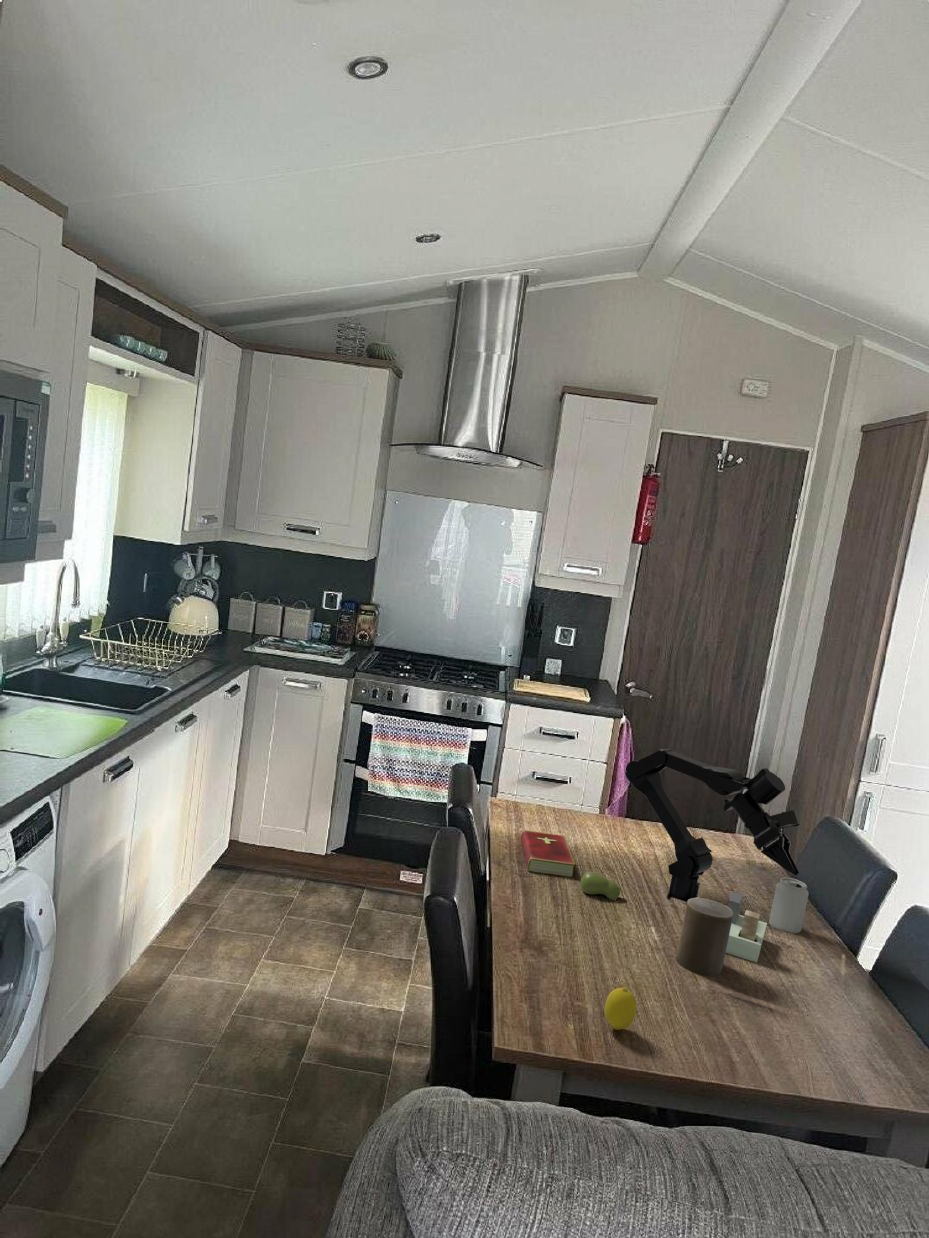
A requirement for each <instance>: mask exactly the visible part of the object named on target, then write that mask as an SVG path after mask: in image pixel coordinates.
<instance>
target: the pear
mask: <svg viewBox="0 0 929 1238" xmlns="http://www.w3.org/2000/svg"><path fill="white" fill-rule="evenodd" d="M579 884H580V888H581V890H582V891H583V892H584V893H585V894H587V895H604V896H605V897H606V898H607V899H609V900H611V901H616V900H617V898H618V897H620V896H621V895H620V894H621V890H622V888H621V886H618V884H617V883H616V882H615V881H612V880H610V879H608V878H607V877H605V876H604V875H602V874H599V873H597V872H594V871H587V872H584V874H583V875H582V876H581V879H580V883H579Z"/></svg>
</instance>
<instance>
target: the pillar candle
mask: <svg viewBox="0 0 929 1238" xmlns="http://www.w3.org/2000/svg"><path fill="white" fill-rule="evenodd" d="M732 919H733V911H732V909H730V908H729V907H728V905H725V904H723V903H721V902H718V901H716V900H711V899H708V898H702V897H699V896H698V897H696V898H691V899H689V900H688V901H687V902H686V907H685V912H684V916H683V920H682V924H681V925H682V926H681V931H680V935H679V940H678V946H677V949H676V952H675V957H674V959H675V962H676V963H677V964H678V965H680V966H681V967H683V968H684V969H685V970H687V971H689V972H691V973H695V974H698V975H702V976H708V977H709V976H711V977H714V976H718V975H720V974H722V972H723V966H724V964H725V963H724V962H725V958H726V954H727V953H726V948H727V943H728V939H729V934H730V929H731V924H732Z"/></svg>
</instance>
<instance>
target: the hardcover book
mask: <svg viewBox="0 0 929 1238" xmlns="http://www.w3.org/2000/svg"><path fill="white" fill-rule="evenodd" d="M520 845H521V850H522V854H523V858H524V861H525V866H526V869H527V872H535V873H536V872H537V873H542V874H549V875H550V874H551V875H557V876H564V877H571V878H572V877H573V872H574V867H575V866H576V865H577V864H576V861H575V859H574V856H573V853H572V852H571V850H570V849H571V848H570V846H569V844H568V841H567V839H566V836H565V835H564V834H563V835H562V834H555V833H547V832H541V831H540V832H539V831H534V830H533V831H532V830H526V829H525V830H524V829H523V830H522V831H521V834H520Z"/></svg>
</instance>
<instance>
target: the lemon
mask: <svg viewBox="0 0 929 1238" xmlns="http://www.w3.org/2000/svg"><path fill="white" fill-rule="evenodd" d="M636 1014H637V1001H636V998H635V995H634V994H633V993H632V992H631V991H630V990H629V989H627V988H626V987H618V988H615V989H613V990H612V991H611V992H610V993H609V995H608V996H607V998H606V1001H605V1004H604V1016H605V1019H606V1021H607V1022H608V1024H609V1025H610V1026H612V1027H613V1029H614V1030H616V1031H619V1030H624V1029H627V1028H629V1027H630V1026H631V1025H632V1024H633V1022H634V1021H635V1017H636Z"/></svg>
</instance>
